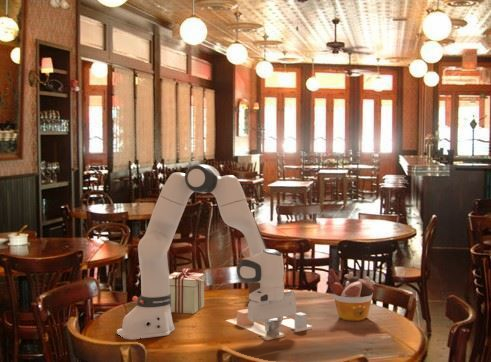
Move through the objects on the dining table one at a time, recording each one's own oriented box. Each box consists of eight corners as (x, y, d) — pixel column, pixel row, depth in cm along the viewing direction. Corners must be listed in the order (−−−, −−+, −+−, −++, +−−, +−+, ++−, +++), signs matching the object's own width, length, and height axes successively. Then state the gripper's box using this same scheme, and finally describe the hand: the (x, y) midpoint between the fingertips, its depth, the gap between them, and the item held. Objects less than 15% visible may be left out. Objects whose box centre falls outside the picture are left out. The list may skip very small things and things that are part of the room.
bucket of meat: (380, 314, 281) (379, 267, 280) (371, 324, 266) (370, 275, 265) (333, 310, 289) (333, 265, 288) (322, 320, 274) (322, 272, 273)
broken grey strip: (295, 332, 257) (295, 316, 256) (252, 316, 282) (252, 301, 282) (312, 329, 261) (311, 313, 261) (268, 313, 286) (268, 298, 286)
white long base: (267, 340, 247) (266, 324, 246) (225, 322, 272) (224, 308, 271) (284, 336, 251) (284, 320, 251) (241, 319, 276) (241, 305, 276)
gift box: (204, 314, 287) (203, 274, 286) (162, 313, 290) (161, 273, 289) (212, 304, 304) (211, 267, 303) (172, 304, 307) (171, 266, 306)
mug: (276, 300, 310) (276, 280, 309) (270, 304, 303) (270, 283, 302) (252, 298, 314) (252, 278, 314) (246, 302, 308) (245, 282, 307)
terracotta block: (243, 325, 263) (243, 313, 263) (236, 323, 267) (236, 310, 267) (254, 323, 266) (253, 311, 265) (247, 321, 270) (247, 308, 269)
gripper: (289, 288, 258) (290, 323, 258) (245, 295, 247) (245, 332, 247) (299, 290, 252) (300, 327, 253) (254, 298, 241) (255, 336, 242)
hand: (272, 329), depth 250 cm, fingers closed on white long base, 3 cm apart
